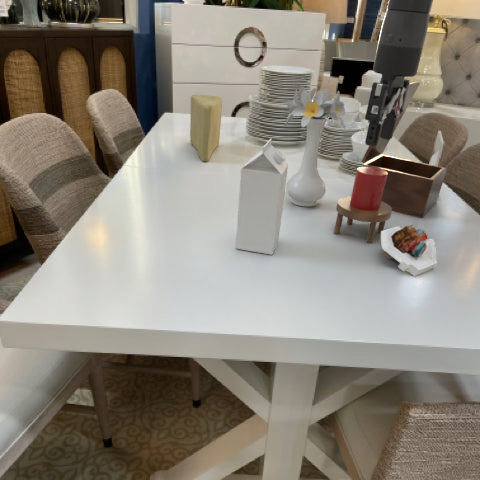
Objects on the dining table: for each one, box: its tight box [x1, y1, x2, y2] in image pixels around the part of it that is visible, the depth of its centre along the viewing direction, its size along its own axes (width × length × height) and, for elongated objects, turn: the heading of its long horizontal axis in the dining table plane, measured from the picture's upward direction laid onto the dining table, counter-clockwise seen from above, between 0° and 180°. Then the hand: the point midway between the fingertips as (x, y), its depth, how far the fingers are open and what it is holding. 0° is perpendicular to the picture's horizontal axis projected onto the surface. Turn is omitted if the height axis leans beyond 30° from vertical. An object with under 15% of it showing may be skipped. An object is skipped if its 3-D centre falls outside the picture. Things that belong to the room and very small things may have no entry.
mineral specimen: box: [380, 224, 438, 277], centre depth 88 cm, size 12×12×7 cm
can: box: [350, 166, 388, 210], centre depth 94 cm, size 6×6×7 cm
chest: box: [361, 153, 448, 219], centre depth 116 cm, size 17×14×9 cm
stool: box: [333, 195, 393, 245], centre depth 98 cm, size 11×11×6 cm
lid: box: [361, 81, 421, 164], centre depth 112 cm, size 18×14×5 cm
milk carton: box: [235, 138, 289, 256], centre depth 85 cm, size 7×7×19 cm
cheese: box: [189, 94, 223, 163], centre depth 141 cm, size 22×10×15 cm, turn 4°
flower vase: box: [284, 86, 346, 208], centre depth 107 cm, size 13×18×25 cm
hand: (378, 141), depth 90 cm, fingers open, 8 cm apart
